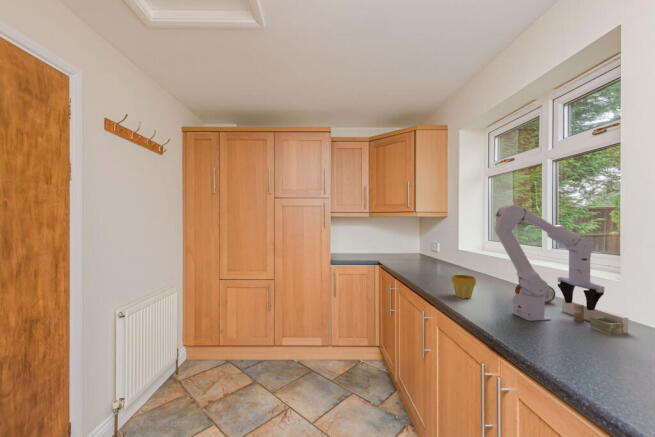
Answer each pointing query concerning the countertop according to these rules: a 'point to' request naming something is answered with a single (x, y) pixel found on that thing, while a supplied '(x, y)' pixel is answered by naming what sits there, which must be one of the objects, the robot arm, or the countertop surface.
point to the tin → (548, 296)
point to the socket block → (606, 325)
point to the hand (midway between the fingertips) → (579, 306)
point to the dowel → (579, 312)
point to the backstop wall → (595, 314)
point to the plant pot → (463, 285)
